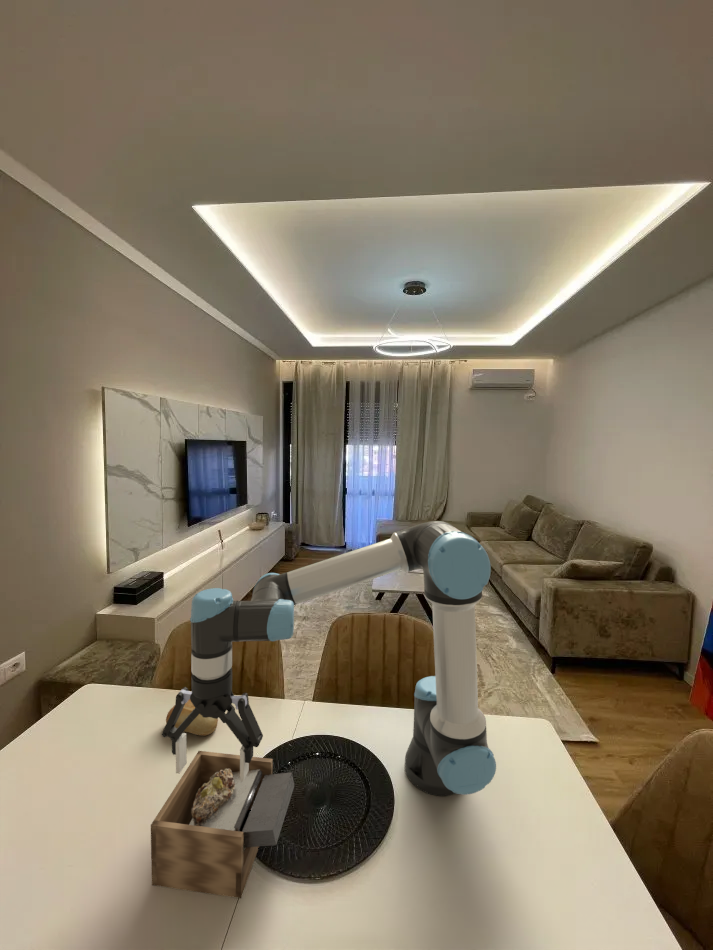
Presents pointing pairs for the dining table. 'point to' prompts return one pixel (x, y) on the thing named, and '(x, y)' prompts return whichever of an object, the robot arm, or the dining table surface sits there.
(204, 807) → the mineral rock
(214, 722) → the bread roll
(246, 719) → the robot arm
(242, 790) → the trapdoor
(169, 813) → the wooden box
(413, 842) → the dining table surface
